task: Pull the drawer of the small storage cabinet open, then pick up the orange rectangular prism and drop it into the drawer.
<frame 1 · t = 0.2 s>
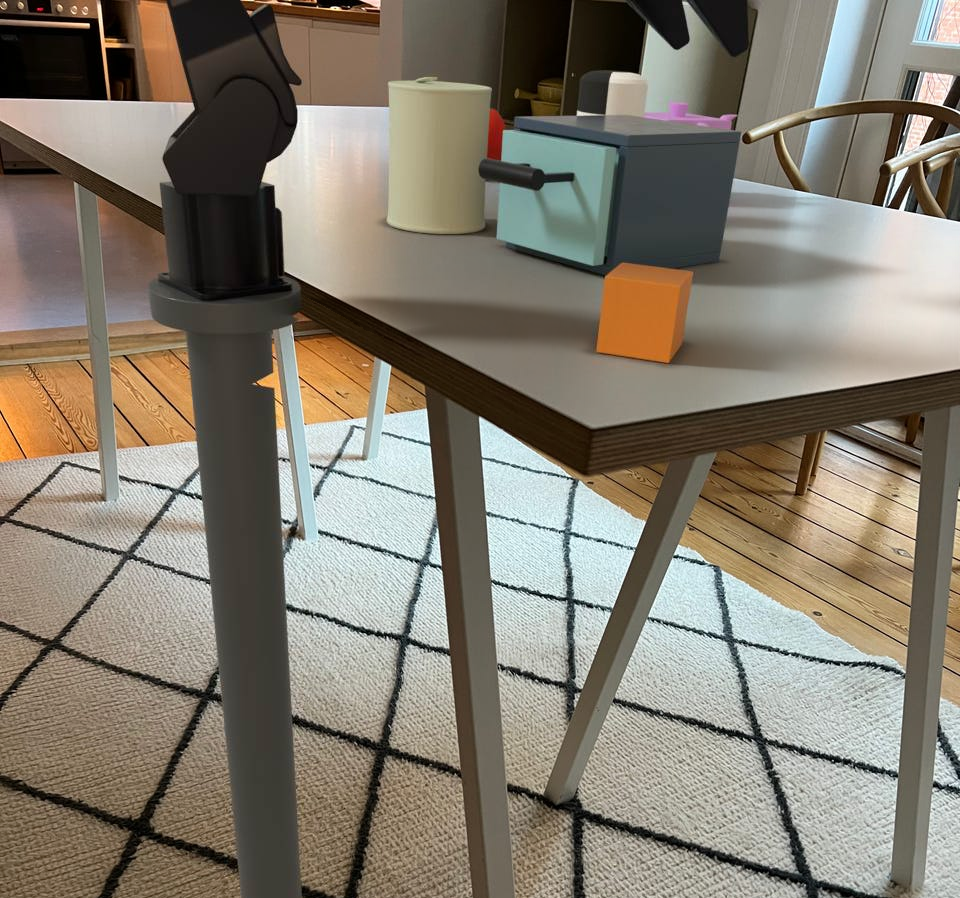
hand: (710, 49, 64), 16 cm above the table, tool tilted 35°, fingers open, 9 cm apart
small storage cabinet: (612, 254, 87), on the table
container: (599, 218, 104), on the table
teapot: (661, 197, 118), on the table
can: (436, 227, 95), on the table
drawer: (581, 194, 82), point 5 cm above the table, slide at 0.5 cm
tomato: (462, 176, 124), on the table
orange rectangular prism: (639, 348, 63), on the table
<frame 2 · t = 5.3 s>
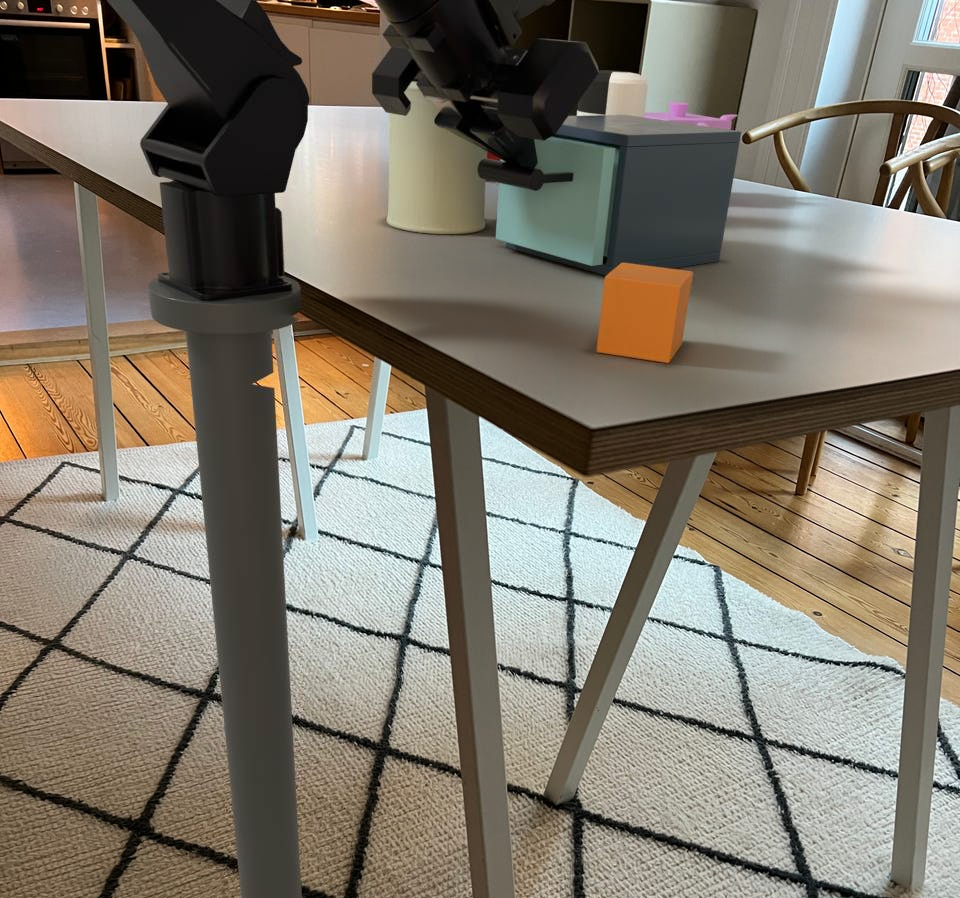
hand: (531, 167, 78), 7 cm above the table, tool tilted 45°, fingers closed, pressing on drawer
drawer: (580, 194, 82), point 5 cm above the table, slide at 0.6 cm, touching gripper
everything else where it was.
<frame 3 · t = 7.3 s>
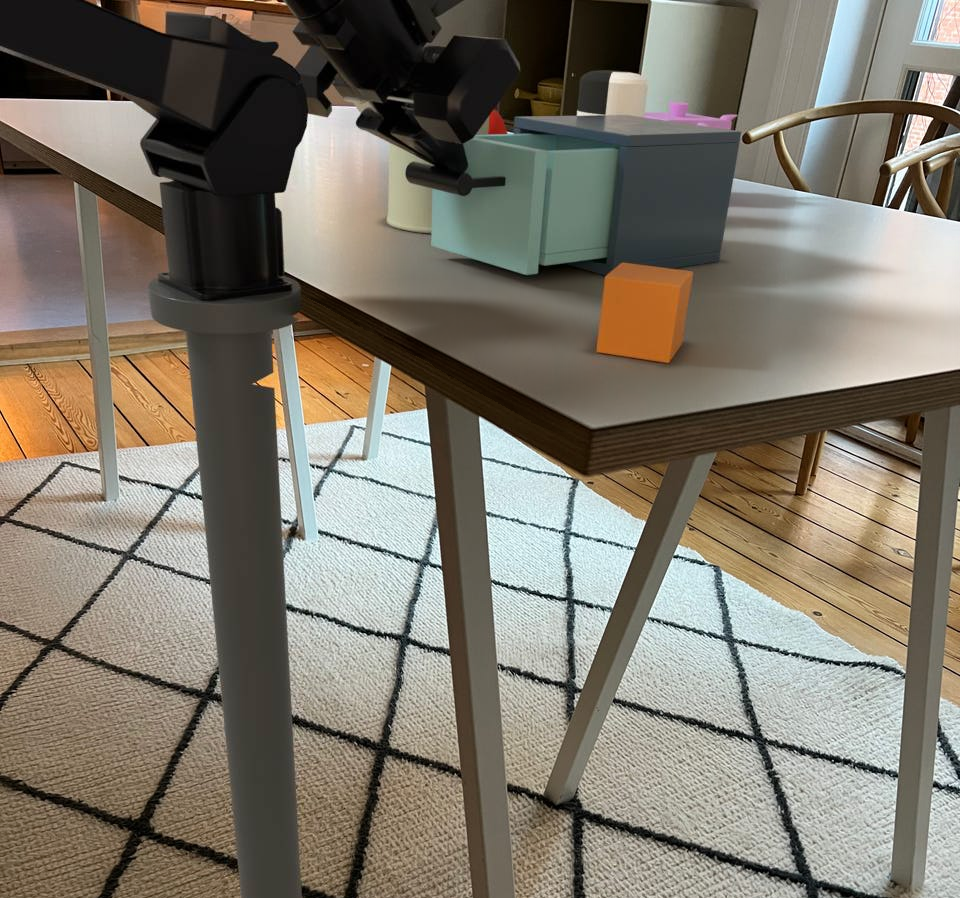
hand: (461, 171, 74), 7 cm above the table, tool tilted 45°, fingers closed, pressing on drawer
drawer: (517, 199, 78), point 5 cm above the table, slide at 7.6 cm, touching gripper
everything else where it was.
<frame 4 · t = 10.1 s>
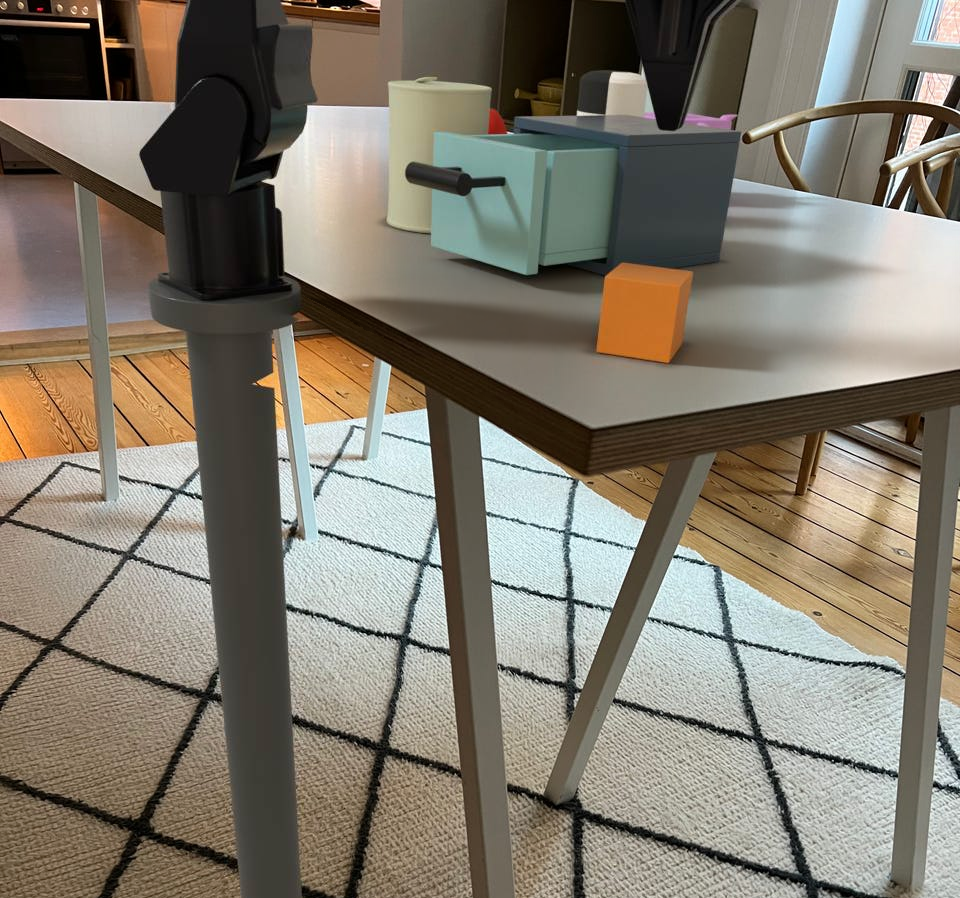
hand: (670, 129, 57), 12 cm above the table, tool pointing down, fingers closed
drawer: (517, 199, 78), point 5 cm above the table, slide at 7.6 cm
everything else where it was.
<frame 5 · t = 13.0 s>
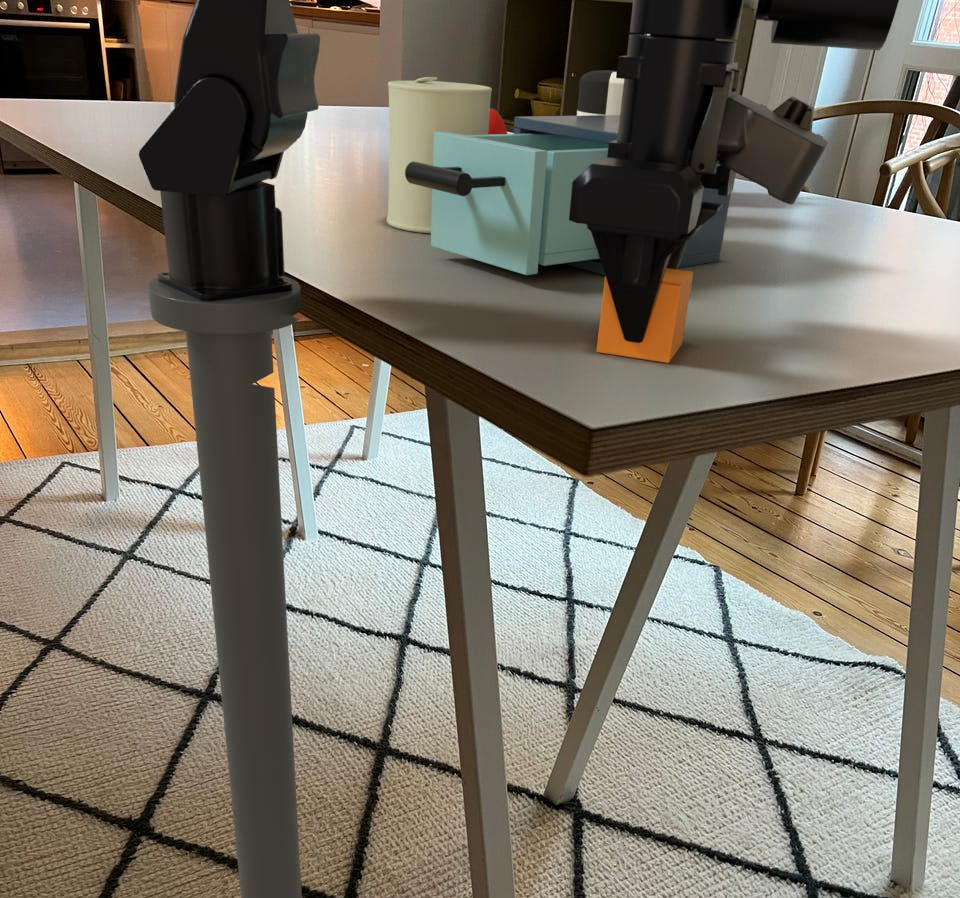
hand: (641, 332, 62), 1 cm above the table, tool pointing down, fingers closed on orange rectangular prism, 4 cm apart
orange rectangular prism: (639, 348, 63), on the table, touching gripper
everything else where it was.
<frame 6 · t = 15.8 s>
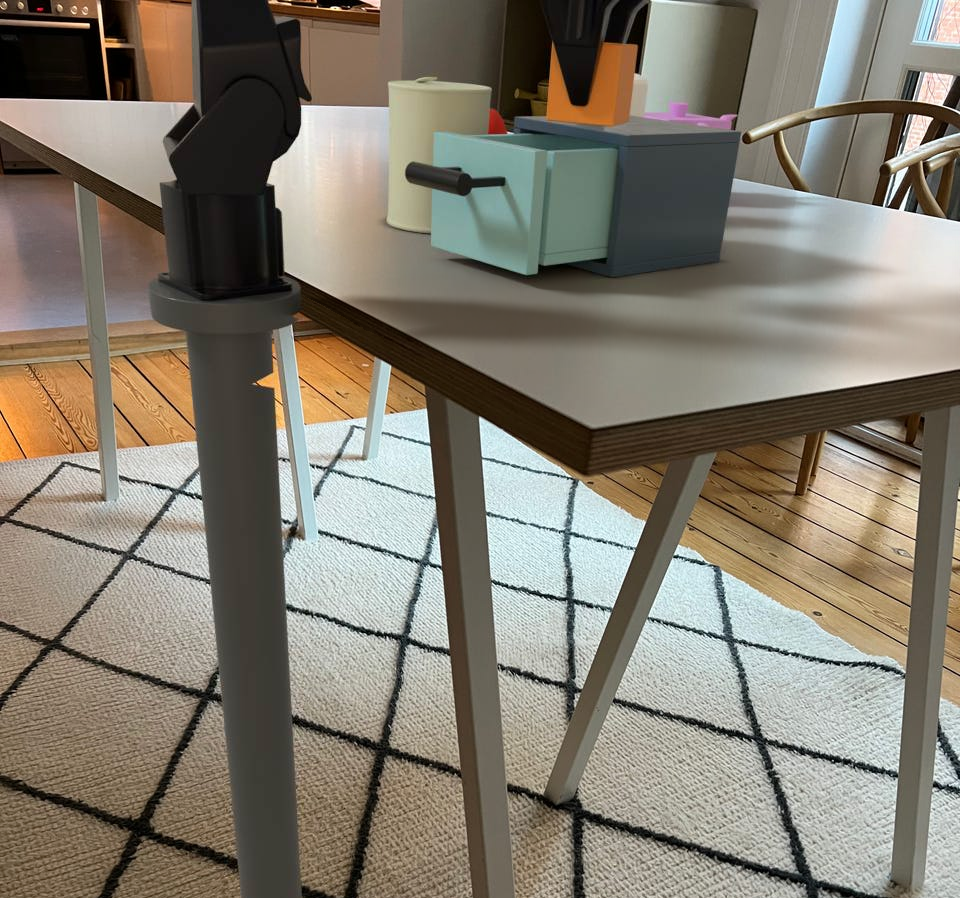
hand: (588, 103, 66), 12 cm above the table, tool pointing down, fingers closed on orange rectangular prism, 4 cm apart
orange rectangular prism: (588, 121, 67), point 11 cm above the table, touching gripper
everything else where it was.
when the fingers open (8 cm above the table, at t = 18.5 s): orange rectangular prism drops 5 cm, point 2 cm above the table.
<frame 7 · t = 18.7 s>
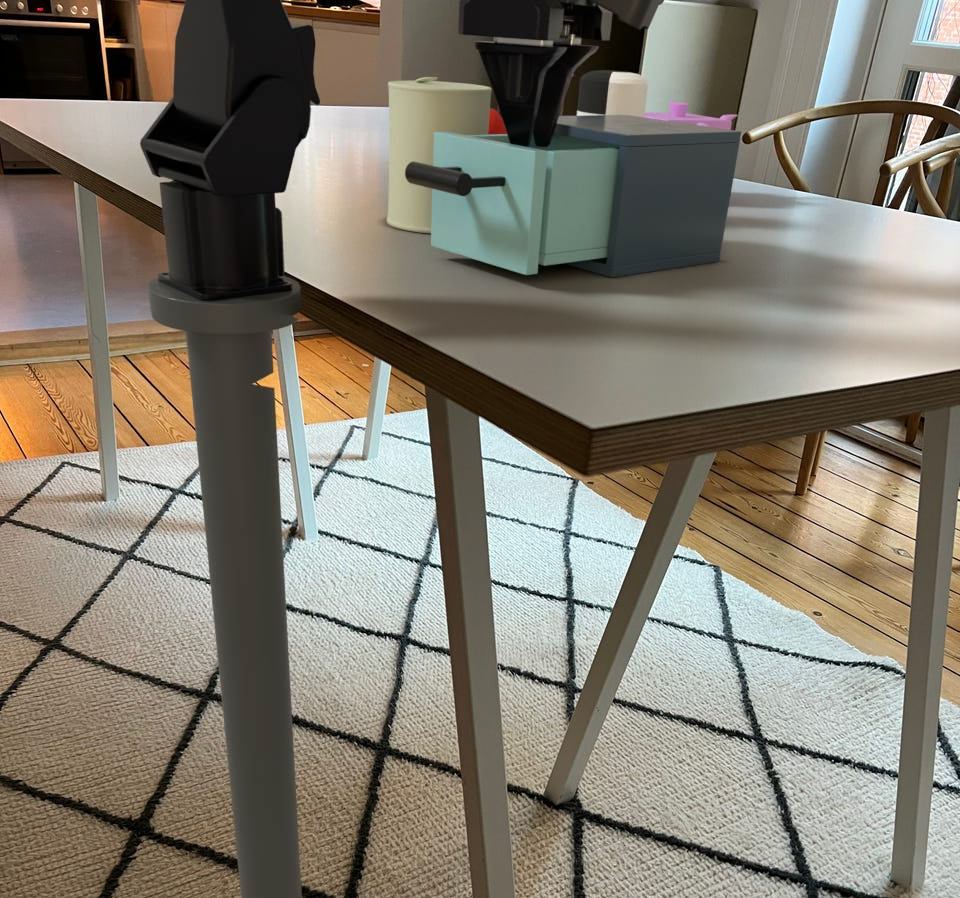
hand: (531, 149, 77), 8 cm above the table, tool pointing down, fingers open, 5 cm apart
orange rectangular prism: (526, 239, 80), point 2 cm above the table
everything else where it was.
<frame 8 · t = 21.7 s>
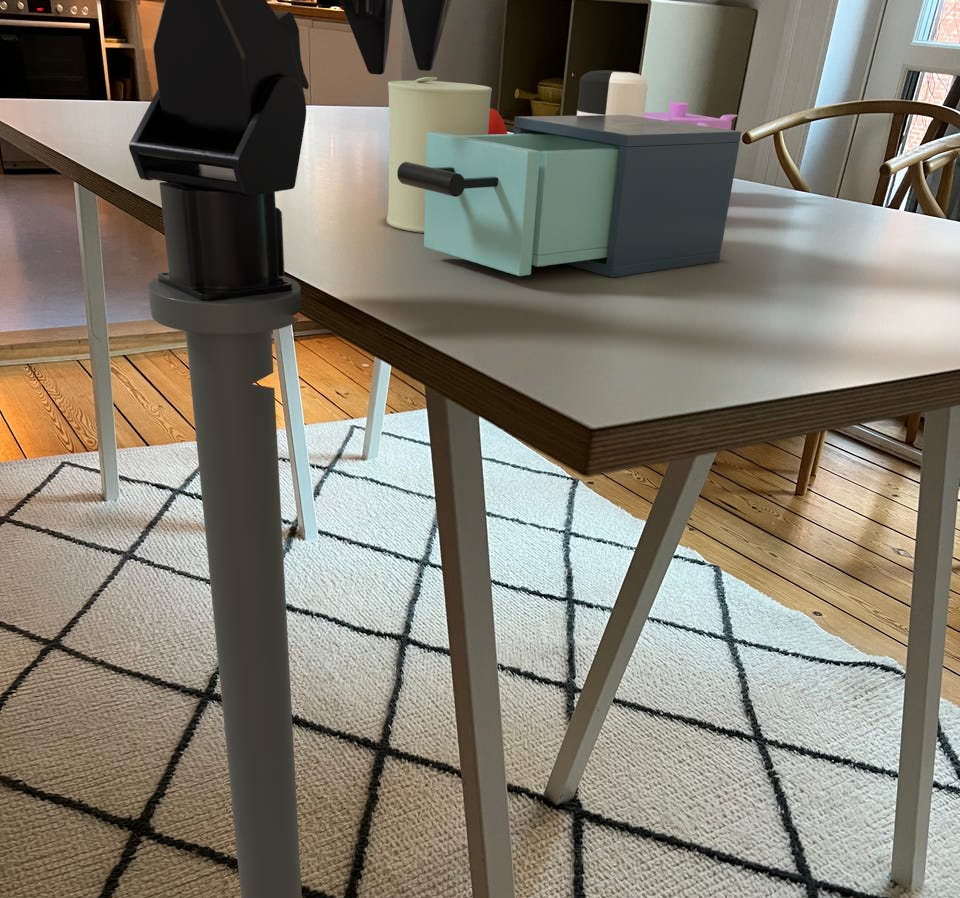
hand: (401, 72, 76), 13 cm above the table, tool pointing down, fingers open, 9 cm apart
drawer: (510, 199, 78), point 5 cm above the table, slide at 8.3 cm, touching orange rectangular prism
orange rectangular prism: (519, 240, 80), point 2 cm above the table, touching drawer
everything else where it was.
at the end: drawer slide at 8.3 cm; orange rectangular prism inside the target area in the drawer (1.2 cm from its centre), point 2.0 cm above the small storage cabinet's base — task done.
